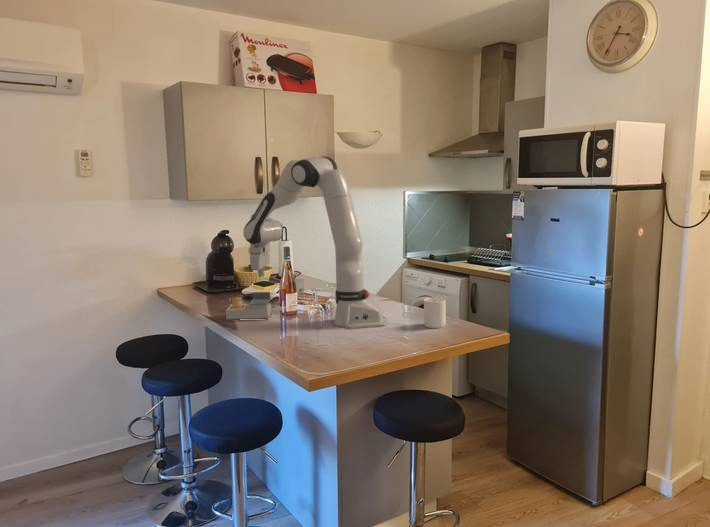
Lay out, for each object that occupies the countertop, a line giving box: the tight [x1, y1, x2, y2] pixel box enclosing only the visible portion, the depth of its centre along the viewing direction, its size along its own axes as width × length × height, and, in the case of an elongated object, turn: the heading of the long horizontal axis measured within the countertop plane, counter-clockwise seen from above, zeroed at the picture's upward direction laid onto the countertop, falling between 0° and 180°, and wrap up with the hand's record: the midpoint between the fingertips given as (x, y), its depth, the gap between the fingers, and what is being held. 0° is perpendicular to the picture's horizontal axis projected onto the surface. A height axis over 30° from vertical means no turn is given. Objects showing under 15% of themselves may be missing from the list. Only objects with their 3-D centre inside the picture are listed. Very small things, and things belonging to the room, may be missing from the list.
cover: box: [248, 291, 271, 305], centre depth 246 cm, size 8×10×4 cm
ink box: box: [294, 278, 305, 294], centre depth 267 cm, size 9×9×12 cm
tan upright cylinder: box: [231, 296, 243, 308], centre depth 240 cm, size 4×4×8 cm
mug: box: [423, 297, 447, 329], centre depth 219 cm, size 9×12×11 cm
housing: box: [225, 302, 272, 321], centre depth 240 cm, size 18×11×6 cm, turn 91°
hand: (261, 276), depth 254 cm, fingers closed
